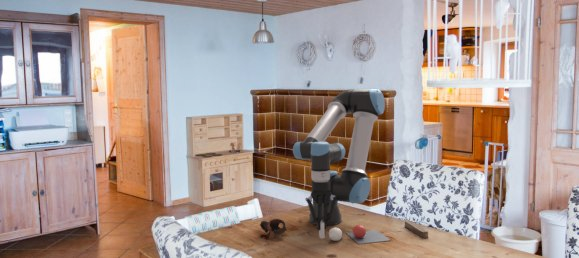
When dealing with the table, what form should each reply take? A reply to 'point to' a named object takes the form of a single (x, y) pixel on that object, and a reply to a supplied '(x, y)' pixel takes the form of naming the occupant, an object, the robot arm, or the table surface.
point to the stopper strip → (416, 229)
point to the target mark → (369, 237)
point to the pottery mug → (273, 227)
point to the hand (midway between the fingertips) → (321, 237)
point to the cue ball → (335, 234)
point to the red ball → (359, 231)
